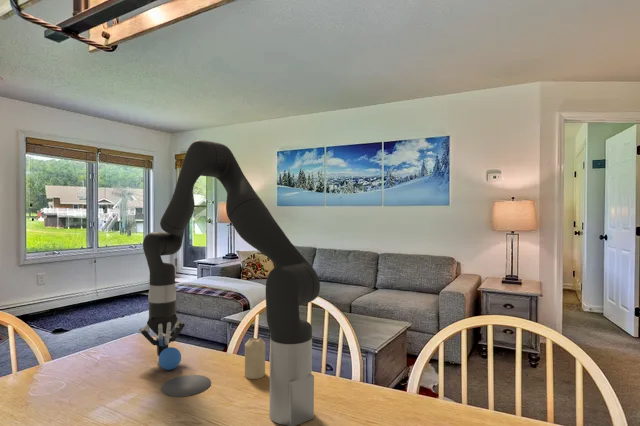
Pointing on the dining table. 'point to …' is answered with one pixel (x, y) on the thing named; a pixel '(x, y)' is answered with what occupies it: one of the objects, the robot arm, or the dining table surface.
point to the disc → (186, 385)
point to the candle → (254, 358)
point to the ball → (169, 358)
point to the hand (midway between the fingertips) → (162, 357)
